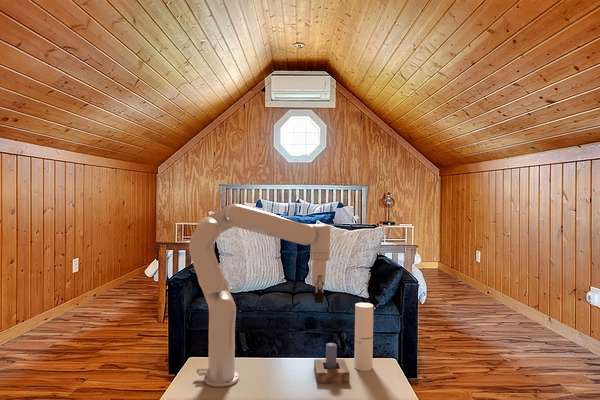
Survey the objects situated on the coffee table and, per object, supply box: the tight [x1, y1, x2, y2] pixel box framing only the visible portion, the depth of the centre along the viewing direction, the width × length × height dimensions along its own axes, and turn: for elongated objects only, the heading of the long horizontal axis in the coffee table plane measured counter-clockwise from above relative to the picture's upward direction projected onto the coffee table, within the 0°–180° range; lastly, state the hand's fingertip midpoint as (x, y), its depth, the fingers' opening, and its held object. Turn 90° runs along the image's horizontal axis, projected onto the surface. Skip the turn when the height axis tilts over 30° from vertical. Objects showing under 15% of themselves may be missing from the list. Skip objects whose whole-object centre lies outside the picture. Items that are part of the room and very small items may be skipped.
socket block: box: [313, 358, 351, 385], centre depth 159 cm, size 12×12×4 cm
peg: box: [325, 342, 338, 369], centre depth 159 cm, size 4×4×12 cm
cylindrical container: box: [353, 302, 374, 372], centre depth 168 cm, size 7×7×25 cm
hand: (318, 299), depth 164 cm, fingers open, 9 cm apart
